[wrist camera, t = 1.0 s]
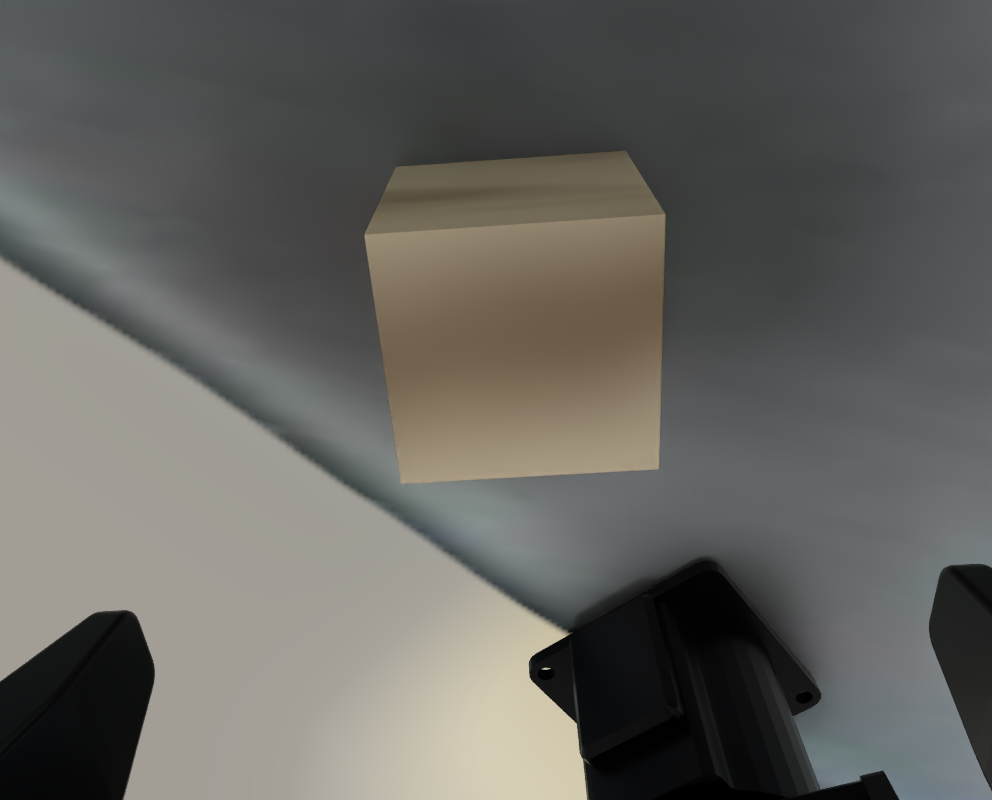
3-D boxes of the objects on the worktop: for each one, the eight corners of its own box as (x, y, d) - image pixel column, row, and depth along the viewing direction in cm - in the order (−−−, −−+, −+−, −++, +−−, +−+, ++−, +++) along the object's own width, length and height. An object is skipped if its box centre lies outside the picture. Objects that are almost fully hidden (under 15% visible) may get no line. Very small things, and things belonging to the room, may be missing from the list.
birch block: (624, 357, 21) (658, 469, 16) (421, 370, 21) (401, 483, 16) (625, 149, 18) (665, 214, 14) (396, 166, 18) (364, 235, 14)
